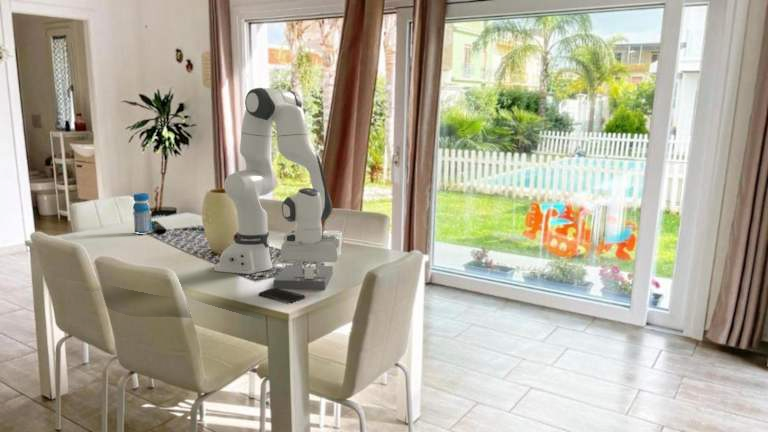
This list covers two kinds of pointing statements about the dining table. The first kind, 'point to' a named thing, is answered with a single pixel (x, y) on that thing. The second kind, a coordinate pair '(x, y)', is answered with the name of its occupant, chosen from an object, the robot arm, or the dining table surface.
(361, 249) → the dining table surface
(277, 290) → the phone
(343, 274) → the dining table surface
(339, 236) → the white cup
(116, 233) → the dining table surface
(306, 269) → the fader knob
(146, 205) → the beverage bottle
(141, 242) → the dining table surface
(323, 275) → the mixer panel
